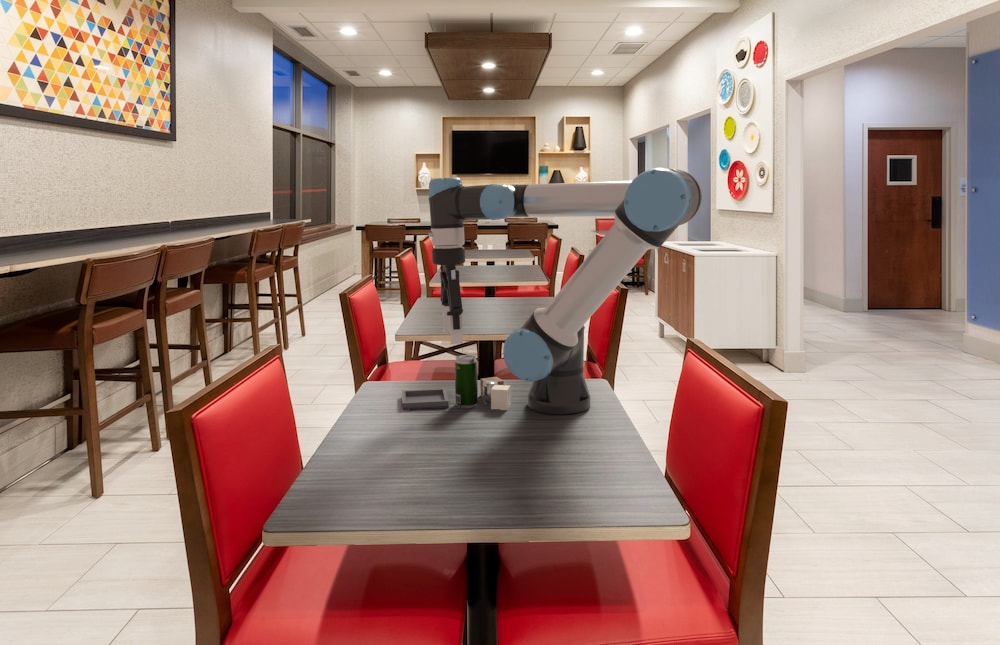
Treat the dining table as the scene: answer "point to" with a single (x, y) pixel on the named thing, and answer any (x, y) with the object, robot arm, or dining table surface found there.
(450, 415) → the dining table surface
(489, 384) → the grey metal cylinder
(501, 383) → the walnut block
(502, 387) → the cream block
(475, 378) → the green soda can
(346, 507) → the dining table surface
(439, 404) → the tray
